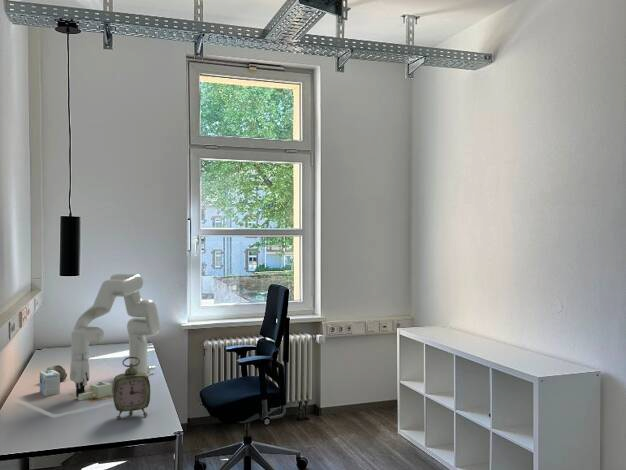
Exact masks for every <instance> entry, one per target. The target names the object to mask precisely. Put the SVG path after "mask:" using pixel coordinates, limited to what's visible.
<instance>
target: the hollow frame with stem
mask: <svg viewBox="0 0 626 470" xmlns="http://www.w3.org/2000/svg"><path fill="white" fill-rule="evenodd" d="M102 382H103V385H101V386H99V382H97V383H93V384H90V385H89V387H90V388H89V389H90V392H86V393H81V394H78V398H77V399H78V401H85V399H89V398H93V393H96V398H100V397H104V396H109V395H112V385H113V383H110V382H106V381H102Z"/></svg>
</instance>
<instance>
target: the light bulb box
mask: <svg viewBox="0 0 626 470" xmlns="http://www.w3.org/2000/svg"><path fill="white" fill-rule="evenodd" d="M60 384H61V382H60V373H58V372H57V371H55V370H49V371H46V370H44V371H39V393H41V394H42V395H44V396H45V397H48V396H51V395H52V396H53V395H58V394H60V393H61V392H60V391H61V385H60Z"/></svg>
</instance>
